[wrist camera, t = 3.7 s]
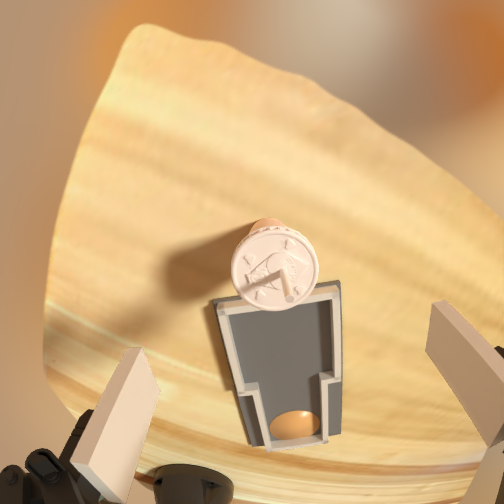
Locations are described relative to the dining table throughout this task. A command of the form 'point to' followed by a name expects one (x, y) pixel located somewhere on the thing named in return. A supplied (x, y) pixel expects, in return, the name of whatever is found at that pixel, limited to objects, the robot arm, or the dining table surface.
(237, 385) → the keyhole plate
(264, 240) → the smoothie
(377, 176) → the dining table surface
